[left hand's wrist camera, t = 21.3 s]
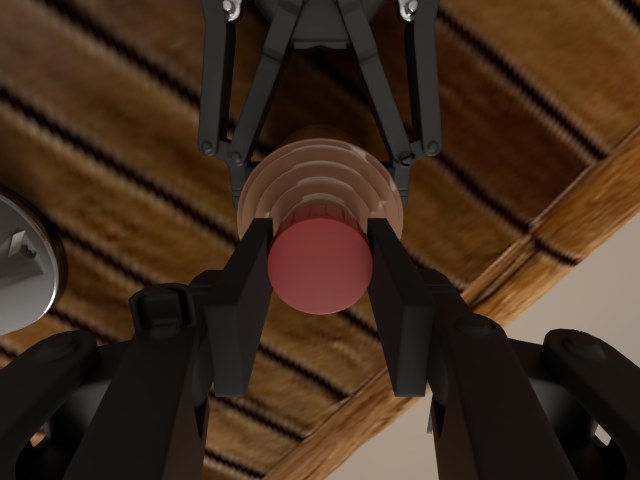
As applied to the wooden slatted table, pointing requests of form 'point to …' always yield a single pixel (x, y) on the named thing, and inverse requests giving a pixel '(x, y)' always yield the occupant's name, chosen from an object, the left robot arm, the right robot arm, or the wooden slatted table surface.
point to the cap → (320, 260)
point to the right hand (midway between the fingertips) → (320, 251)
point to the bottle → (320, 180)
